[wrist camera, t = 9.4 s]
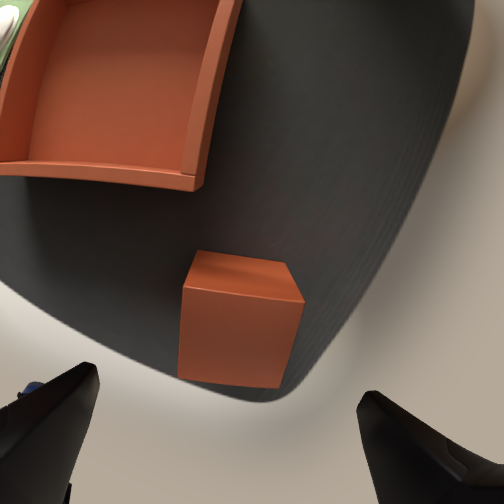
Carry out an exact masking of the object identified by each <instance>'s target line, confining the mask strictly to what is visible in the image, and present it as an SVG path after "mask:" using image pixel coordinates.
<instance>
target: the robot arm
mask: <svg viewBox="0 0 504 504" xmlns="http://www.w3.org/2000/svg"><path fill="white" fill-rule="evenodd" d="M99 387H100V382H99V377H98V372H97V367H96V365H94V364H92V363H89V362H82V363H80V364H79V365H77V366H75V367H73V368H72V369H70V370H68V371H67V372H65V373H63V374H61V375H59V376H58V377H56V378H54V379H52V380H51V381H49V382H47V383H45V384H44V385H42V386H40V387H38V388H37V389H35V390H33V391H31V392H30V393H28V394H26V395H25V394H23V393H21V392H18V394H17V397H18V399H17V400H16V401H14V402H12V403H10V404H8V406H5V407H3V408H1V409H0V504H69V500H70V494H71V487H72V484H71V483H69V480H70V477H71V474H72V471H73V468H74V465H75V463H76V460H77V457H78V454H79V451H80V449H81V446H82V443H83V441H84V438H85V435H86V433H87V430H88V427H89V424H90V420H91V417H92V413H93V409H94V406H95V402H96V398H97V395H98V391H99ZM356 412H357V418H358V423H359V429H360V434H361V439H362V444H363V449H364V452H365V456H366V459H367V463H368V466H369V470H370V473H371V476H372V480H373V484H374V487H375V491H376V495H377V499H378V502H379V504H504V464H497V463H494V462H491V461H489V460H487V459H484V458H483V457H481V456H479V455H477V454H474V453H472V452H471V451H469V450H466V449H465V448H463V447H461V446H460V445H458V444H456V443H454V442H453V441H452V440H450V439H448V438H446V437H445V436H444V435H442V434H441V433H439V432H437V431H436V430H434V429H433V428H431V427H430V426H428V425H427V424H425V423H424V422H422V421H421V420H419V419H418V418H416V417H415V416H413V415H412V414H410V413H409V412H407V411H406V410H404V409H403V408H401V407H400V406H398V405H397V404H396V403H394V402H393V401H391V400H390V399H389V398H387V397H386V396H384V395H383V394H381V393H380V392H379V391H376V390H374V391H367V392H365V394H364V395H363V397H362V399H361V401H360V403H359V404H358V406H357V410H356Z"/></svg>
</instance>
